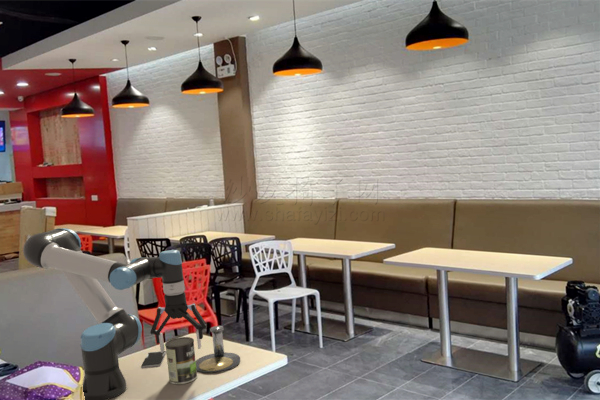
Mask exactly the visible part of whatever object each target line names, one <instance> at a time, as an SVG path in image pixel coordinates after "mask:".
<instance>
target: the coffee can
mask: <svg viewBox="0 0 600 400" xmlns="http://www.w3.org/2000/svg"><path fill="white" fill-rule="evenodd" d="M194 342H195V340H194V338H192V337H189V336H181V337H176V338H173V339H169V340H167V341H166V342H164V347H165V351H166V360H167V369H168V371H167V372H168V378H169V380H168V382H169V383H170V384H172V385H185V384H188V383H191V382H194V381H195V380H196V379H198V373H197V372H198V371H196V354H195V353H196V352H195V343H194Z"/></svg>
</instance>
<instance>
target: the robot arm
mask: <svg viewBox="0 0 600 400" xmlns="http://www.w3.org/2000/svg"><path fill="white" fill-rule="evenodd" d="M81 243H82V241H81V238H80V236H79V234H78V233H76V231H74V230H73V229H70V228H63V227H62V228H55V229H52V230H48V231H45V232H38V233H34V234H33V235H32V236H29V237H28V238H27V240H26V241H25V242H24V244H23V248H22V249H23V250H22V252H23V256H24V259H25V260H26V261H27V262H28V263H29V264H31V265H32V266H35V267H38V268H40V269H45V270H50V269H54V270H55V271H60V272H61V273H62V274H63V276H64V277H65V278H66V280H67V281H68V283H69V284H70V285H71V286H72V289H74V291H75V292H76V293H77V295H78V296H79V298H80V299H81V300H82V303H84V305H85V306H86V308H87V309H88V310H89V312H90V314H92V316H93V317H94V319H95V320H96V324H95V325H91V326H89V327H87V328H86V329H84V331H83V332H81V335H80V348H81V349H80V350H81V356H82V363H83V372H84V377H83V382H82V385H83V392H84V396H85V400H109V399H113V398H115V397H117V396H120V395H121V394H123V393H124V392H125V391H126V390H127V380H126V379H125V376H124V374H123V373H122V371H121V369H120V364H119V355H120V354H121V353H123V352H125V351H126V350H128V349H130V348H132V347H133V346H134V345H135V344H137V343H138V342H139V340H140V339H141V337H142V334H143V333H142V332H143V327H142V323H141V321H140V319H139V318H138V317H137V316H136V315H134V314H131V313H130V314H129V313H127V312H126V310H125V309H124V308H123V307H118V306H117V305H116V303H114V301H113V300H112V298H111V297H110V295H109V294H108V292H107V291H106V290H105V288H104V287H103V286H102V284H101V283H100V281H101V282H106V283H110V285H111V286H112V287H113V288H114V289H116V290H119V291H122V290H127V289H130V288H131V287H134V286H135V285H137V284H139V283H142V282H143V281H146V280H148V279H155V278H156V279H157V278H159V279H161V280H162V288H163V293H164V305H165V306H164V307H162V306H158V307H157V309H156V315H155V319H154V321H153V324H152V326H151V329H150V332H149V333H150V334H151V335H155V337H156V344H159V347H160V349H159V351H161V353H163V352H164V351H166V348H165V342H164V335H163V334H164V333H163V332H162V331H163V329H164V327H165V326H166V324H168V322H169V320H170V319H172V320H175V319H182V318H183V319H185V320H187V322H188V323H190V324H191V326H193V327H194V328H195V329H196V331H195V333H196V342H197V343H196V344H197V349H198V350H201V348H202V339H203V338H204V332H203V330H204V329H206V328H207V323H206V321H205V320H204V318H203V316H202V315H201V313H200V311H199V310H198V309H197V305H196V303H195V302H193V303H192V304H189V305H188V303H187V297H186V292H185V291H186V286H185V279H184V273H183V261H182V257H181V252H180V250H177V249H170V250H165V251H161V252H160V253H159V254H158V255H159V256H154V257H153V256H152V257H142V256H141V257H137V258H135V257H134V258H133V259H131V261H130V262H129V263H123V262H118V261H116V260H111V259H107V258H103V257H99V256H95V255H91V254H87V253H83V250H81V248H82V244H81ZM188 310H190V311H191V312H192V314H193V315H194V317H195V318H196V319H195V318H194V317H192V316H191V315H190V312H188ZM164 312H165V313H166V314H167V316H166V317H165V319H164V320H163V321H162V323H161V324H160V326H159V327H158V324H159V321H160V319H161V316H162V315H163V313H164ZM157 327H158V329H157Z"/></svg>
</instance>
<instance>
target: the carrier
mask: <svg viewBox="0 0 600 400" xmlns="http://www.w3.org/2000/svg"><path fill="white" fill-rule="evenodd" d="M209 330H210V333H211V334H212V345H213V353H209V354H206V355H203V356H201V357H199V358H198V359H195V361H196V371H197V372H199V373H203V374H204V373H205V374H217V373H222V372H226V371H230V370H232V369H234V368H235V367H237V366H238V365H240V363H241V356H240V355H238V354H237V353H233V352H225V349H224V348H225V347H224V346H225V345H224V338H223V337H224V335H223V331H224V326H223V325H215V326H212V327H210V328H209Z"/></svg>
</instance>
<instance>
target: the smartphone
mask: <svg viewBox="0 0 600 400" xmlns="http://www.w3.org/2000/svg"><path fill="white" fill-rule="evenodd" d="M166 356H167V353H166V350H164V352H163V353H161V350H159V351H149V352H147V354H146V356H145V358H144V360H143V362H142V364H141V368H142V369H144V368H153V367H160V366H162V364H163V362H164V360H165V357H166Z"/></svg>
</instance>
